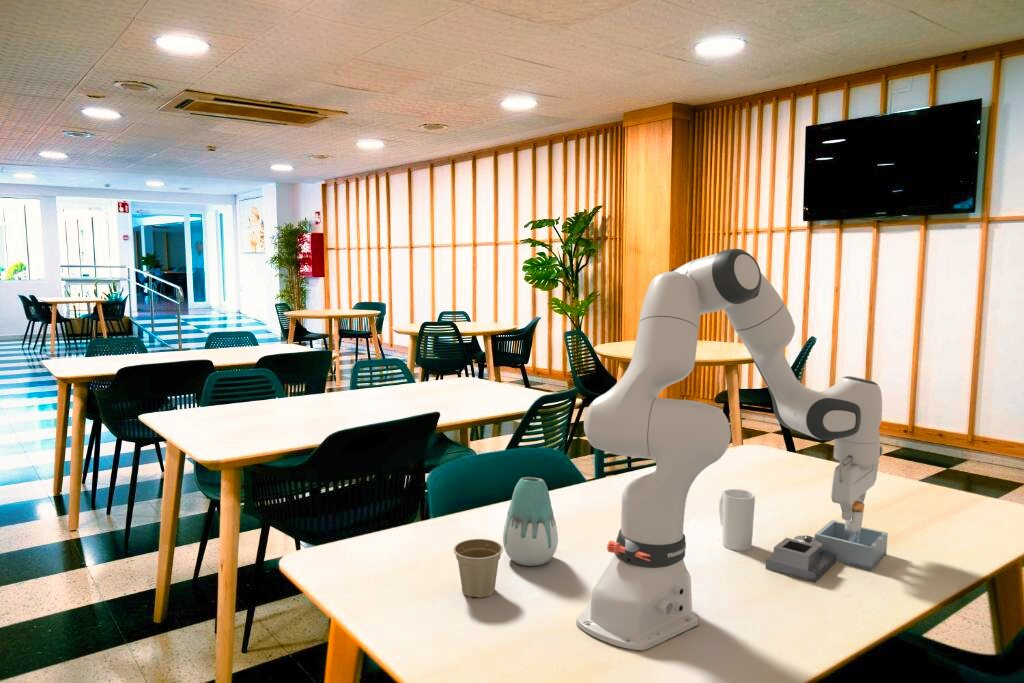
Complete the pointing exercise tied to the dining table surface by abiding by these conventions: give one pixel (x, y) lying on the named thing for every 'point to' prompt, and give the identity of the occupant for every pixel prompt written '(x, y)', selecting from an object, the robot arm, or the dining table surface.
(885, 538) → the parts bin
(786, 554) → the block
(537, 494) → the vase
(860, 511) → the lock pin
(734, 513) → the mug
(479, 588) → the flower pot
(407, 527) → the dining table surface
